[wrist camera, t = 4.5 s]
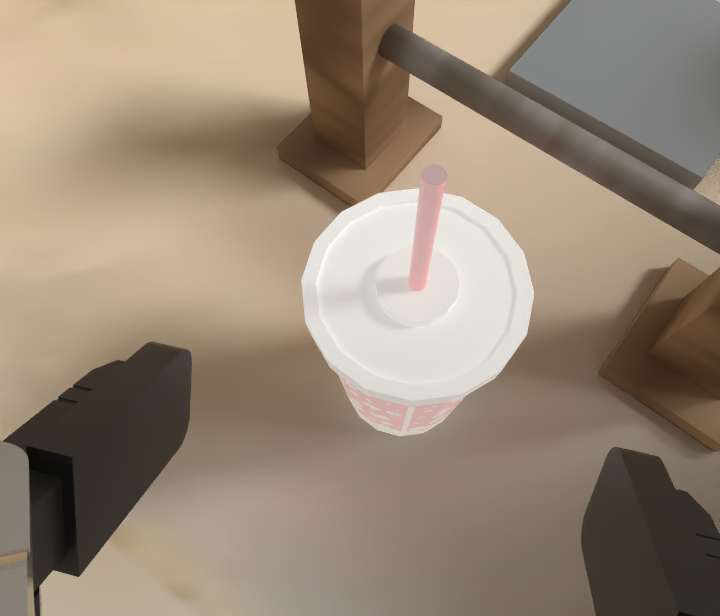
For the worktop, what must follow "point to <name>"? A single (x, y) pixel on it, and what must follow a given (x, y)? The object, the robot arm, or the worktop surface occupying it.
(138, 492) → the robot arm
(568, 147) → the gate
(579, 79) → the coaster
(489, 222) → the beverage cup
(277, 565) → the worktop surface
